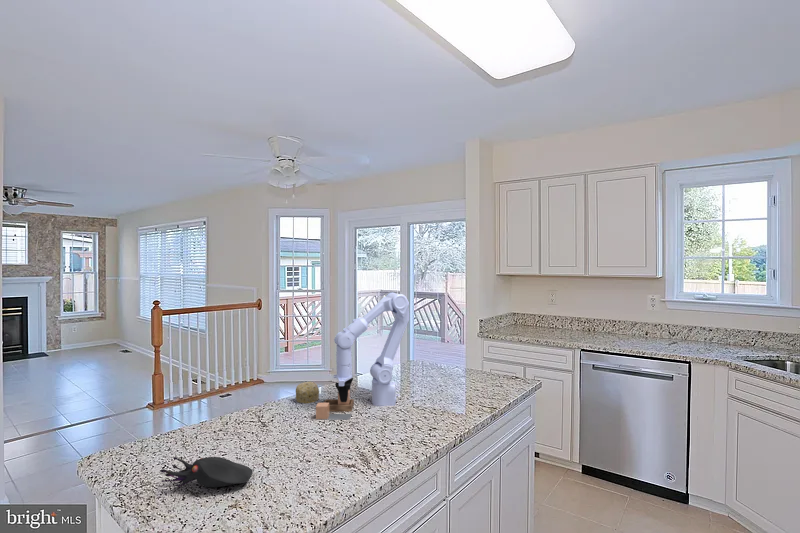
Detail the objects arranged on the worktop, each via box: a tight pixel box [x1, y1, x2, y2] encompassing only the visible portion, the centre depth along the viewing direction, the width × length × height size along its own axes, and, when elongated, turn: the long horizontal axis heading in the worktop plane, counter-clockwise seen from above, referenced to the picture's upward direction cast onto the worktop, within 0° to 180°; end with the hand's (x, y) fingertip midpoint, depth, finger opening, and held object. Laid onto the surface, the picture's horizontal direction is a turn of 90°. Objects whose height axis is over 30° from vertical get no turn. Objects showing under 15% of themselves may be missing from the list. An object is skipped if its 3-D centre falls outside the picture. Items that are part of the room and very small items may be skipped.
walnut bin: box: [323, 398, 355, 413], centre depth 160 cm, size 11×7×3 cm, turn 89°
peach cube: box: [337, 389, 351, 405], centre depth 160 cm, size 4×4×4 cm
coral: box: [295, 380, 320, 404], centre depth 170 cm, size 9×9×8 cm
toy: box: [159, 456, 253, 488], centre depth 108 cm, size 10×21×10 cm, turn 96°
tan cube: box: [315, 402, 330, 420], centre depth 151 cm, size 4×4×4 cm
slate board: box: [315, 413, 353, 421], centre depth 151 cm, size 12×6×1 cm, turn 89°
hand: (344, 399), depth 160 cm, fingers closed on peach cube, 4 cm apart
